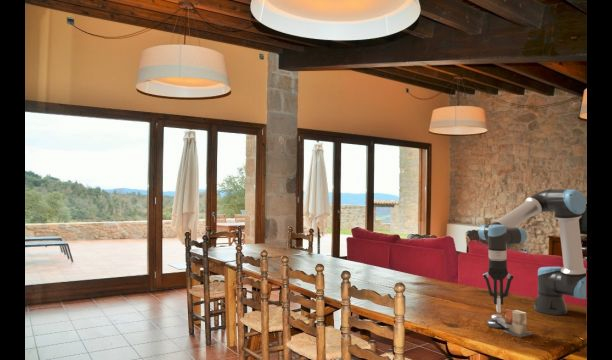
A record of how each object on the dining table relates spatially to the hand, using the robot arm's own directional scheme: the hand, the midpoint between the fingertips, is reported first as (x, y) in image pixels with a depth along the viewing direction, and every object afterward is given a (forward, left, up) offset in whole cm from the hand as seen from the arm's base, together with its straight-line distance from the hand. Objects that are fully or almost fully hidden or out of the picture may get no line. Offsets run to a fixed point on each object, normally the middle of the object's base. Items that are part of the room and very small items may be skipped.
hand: (498, 311), depth 200 cm
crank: (-5, -2, -7) cm, 9 cm away
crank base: (-7, -7, -10) cm, 14 cm away
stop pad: (-7, +4, -10) cm, 13 cm away
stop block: (-7, +4, -9) cm, 12 cm away
